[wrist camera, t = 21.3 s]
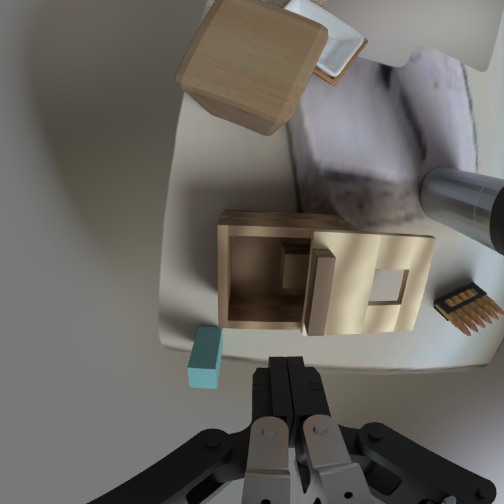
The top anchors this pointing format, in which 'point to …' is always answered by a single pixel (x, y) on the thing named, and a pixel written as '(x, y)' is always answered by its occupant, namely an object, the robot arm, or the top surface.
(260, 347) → the top surface
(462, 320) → the ammunition clip
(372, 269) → the lid
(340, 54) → the soap dish
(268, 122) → the wooden block
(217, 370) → the teal block
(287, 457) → the robot arm
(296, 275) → the wooden box
